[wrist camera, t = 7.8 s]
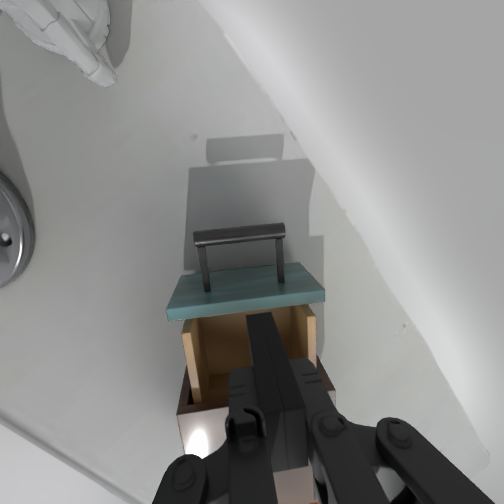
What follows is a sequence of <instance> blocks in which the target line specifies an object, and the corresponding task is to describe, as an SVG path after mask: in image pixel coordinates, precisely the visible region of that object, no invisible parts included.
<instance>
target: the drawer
mask: <svg viewBox="0 0 504 504" xmlns="http://www.w3.org/2000/svg"><path fill="white" fill-rule="evenodd" d="M193 236H194V244H195V247H198V251H199V258H200V265H201V272H202V273H200V274H191V275H182V276H181V277H180V279H179V282H178V284H177V286H176V288H175V290H174V293H173V295H172V297H171V299H170V302H169V304H168V306H167V308H166V312H167V317H168V321H177V320H184V319H185V322H184V326H183V329H182V333H181V335H182V341H183V346H184V352H185V357H186V363H187V368H188V374H189V379H190V385H191V390H192V395H193V401H194V404H199V403H206V402H212V401H219V400H225V399H228V377H229V375H230V373H231V370H232V369H236V368H242V367H249V366H252V364H251V357H250V349H249V340H248V332H247V323H246V315H250V314H258V313H265V312H272V315H273V318H274V321H275V323H276V326H277V329H278V332H279V334H280V337H281V340H282V343H283V345H284V348H285V351H286V354H287V356H288V359H295V358H302V357H307V358H308V359H309V360H310V361H311V362H312V363H314V365H315V367H316V316H315V314H314V313H313V311H312V310H311V308H310V307H309V305H308V304H309V303H317V302H325V289H324V288H323V287H322V286H321V285H320V284H319V283H318V282H317V280H316V279H315V278H314V277H313V276H312V275H311V274H310V273H309V272H308V271H307V270H306V269H305V268H304V267H303V266H302V264H301V263H300V262H296V263H287V264H284V260H283V241H282V238H284V237H285V226H284V223H272V224H262V225H252V226H242V227H233V228H223V229H213V230H203V231H194V233H193ZM268 239H275V248H276V264H277V265H269V266H261V267H252V268H243V269H235V270H226V271H217V272H209V270H208V263H207V255H206V248H205V246H212V245H221V244H231V243H240V242H249V241H259V240H268Z"/></svg>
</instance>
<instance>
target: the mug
mask: <svg viewBox="0 0 504 504" xmlns="http://www.w3.org/2000/svg"><path fill="white" fill-rule="evenodd" d="M0 10H2V11H4V12H6V13H7V14H8V15H9V16H10V17H11V18H12V20H13V21H14V22H15V24H16V25H17V26H18V27H19V28H20V30H21V31H22V32H23V33H24V34H25V35H27V36H28V37H29V38H30V39H31V40H32V41H33V42H34V43H35V44H37V45H38V46H41V47H43V48H45V49H46V50H49V51H51V52H54V53H57V54H61V55H64V56H66V57H67V58H68V59H69V60H70V61H73V62H74V63H75V64H76V65H77V66H78V67H79V68H80V69H81V72H82V73H83V74H84V75H85V76H86V77H87V78H88V79H89V80H91V81H93V82H95V83H96V84H98V85H100V86H102V87H110V86H113V85H114V84H115V83H116V82H117V75H116V73H115V72H114V70H113V69H112V68H111V66H110V65H109V63H108V62H107V61H106V59H105V58H104V57H103V56H102V55H101V54H100V53H99V52H98V50H99V49H100V48H101V47H102V45H103V44H104V43H105V41H106V38H105V37H107V36H108V33H109V30H108V27H107V25H110V11H109V6H108V3H107V0H0Z"/></svg>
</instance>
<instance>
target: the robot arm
mask: <svg viewBox="0 0 504 504" xmlns="http://www.w3.org/2000/svg"><path fill="white" fill-rule="evenodd" d="M33 248H34V228H33V223H32V219H31V216H30V213H29V211H28V208H27V206H26V204H25V202H24V200H23V199H22V197H21V196H20V194H19V193H18V191H17V190H16V189H15V187H14V186H13V185H12V184H11V183H10V182H9V180H8V179H7V178H6V177H5V176H4V175H2V174H1V173H0V289H1V288H3V287H5V286H7V285H8V284H10V283H11V282H13V281H14V280H15V279H16V278H18V277H19V276H20V275H21V273H22V272H23V271H24V270H25V268H26V267H27V265H28V263H29V261H30V259H31V256H32V252H33ZM246 323H247V332H248V340H249V349H250V357H251V364H252V366H249V367H242V368H236V369H232V370H231V373H230V375H229V377H228V405H229V414H228V416H227V417H226V421H225V432H226V440H225V442H224V443H223V445H222V446H221V447H220V448H219V449H218V450H216V451H215V452H213V453H211V454H210V455H208V456H206V457H204V458H201V457H200V456H198V455H195V454H186V455H183V456H181V457H179V458H177V459H176V460H175V461H174V462H173V463H171V464H170V465H169V467H168V469H167V470H166V472H165V474H164V476H163V478H162V481H161V483H160V485H159V488H158V490H157V493H156V495H155V498H154V500H153V502H152V504H278V499H277V493H276V488H275V482H274V476H273V473H275V472H281V471H286V470H291V469H297V468H302V467H307V466H309V462H308V458H309V461H310V464H311V468H312V471H313V493H314V500H317V497H318V501H319V504H495V503H494V502H493V501H492V500H491V499H490V498H488V496H486V495H485V494H484V493H483V492H482V491H481V490H480V489H479V488H478V487H477V486H476V485H475V484H474V483H473V482H472V481H470V480H469V479H468V478H467V477H466V476H465V475H464V474H463V473H462V472H461V471H460V470H459V469H458V468H457V467H455V466H454V465H453V464H452V463H451V462H450V461H449V460H448V459H447V458H446V457H445V456H444V455H443V454H442V453H441V452H439V451H438V450H437V449H436V448H435V447H434V446H433V445H432V444H431V443H430V442H429V441H428V440H427V439H426V438H425V437H423V436H422V435H421V434H420V433H419V432H418V431H417V430H416V429H415V428H414V427H412V426H411V425H410V424H408V423H407V422H405V421H403V420H400V419H398V418H391V417H388V418H383V419H381V420H380V421H379V422H378V423H377V427H370V426H363V425H358V424H354V423H352V422H350V421H348V420H346V418H345V417H344V416H343V415H341V414H340V413H338V411H337V409H336V408H335V406H334V404H333V402H332V400H331V398H330V396H329V394H328V392H327V390H326V388H325V386H324V383H323V381H322V379H321V377H320V375H319V374H318V371H317V369H316V367H315V365H314V363H312V362H311V361H310V360H309V359H308V358H307V357H302V358H295V359H288V356H287V354H286V351H285V348H284V345H283V343H282V340H281V337H280V334H279V332H278V329H277V326H276V323H275V321H274V318H273V315H272V312H265V313H258V314H250V315H246Z"/></svg>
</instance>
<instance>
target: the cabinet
mask: <svg viewBox="0 0 504 504" xmlns="http://www.w3.org/2000/svg"><path fill="white" fill-rule="evenodd" d="M316 369H317V371H318V374H319V375H320V377H321V379H322V381H323V383H324V386H325V388H326V390H327V392H328V394H329V396H330V398H331V400H332V402H333V404H334V406H335V388H334V386H333V384H332V382H331V380H330V379H329V377H328V375H327V373H326V371H325V369H324V367H323V366H322V364H321V362H320V360H319V358H318V356H317V354H316ZM228 414H229V405H228V399H225V400H219V401H212V402H206V403H199V404H194V401H193V395H192V390H191V385H190V379H189V374H188V368H187V365H186V370H185V374H184V379H183V384H182V389H181V394H180V399H179V404H178V409H177V414H176V416H177V420H178V425H179V430H180V435H181V440H182V444H183V449H184V454H185V455H186V454H195V455H198V456H200V457H201V458H204V457H206V456H208V455H210V454H211V453H213V452H215V451H216V450H218V449H219V448H220V447H221V446H222V445H223V443H224V442H225V440H226V432H225V421H226V417H227V416H228ZM308 462H309V466H307V467H302V468H297V469H291V470H286V471H281V472H275V473H273V476H274V482H275V488H276V493H277V499H278V504H310V503H315V502H319V501H318V497H317V500H314V493H313V471H312V468H311V464H310V461H309V458H308Z"/></svg>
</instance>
